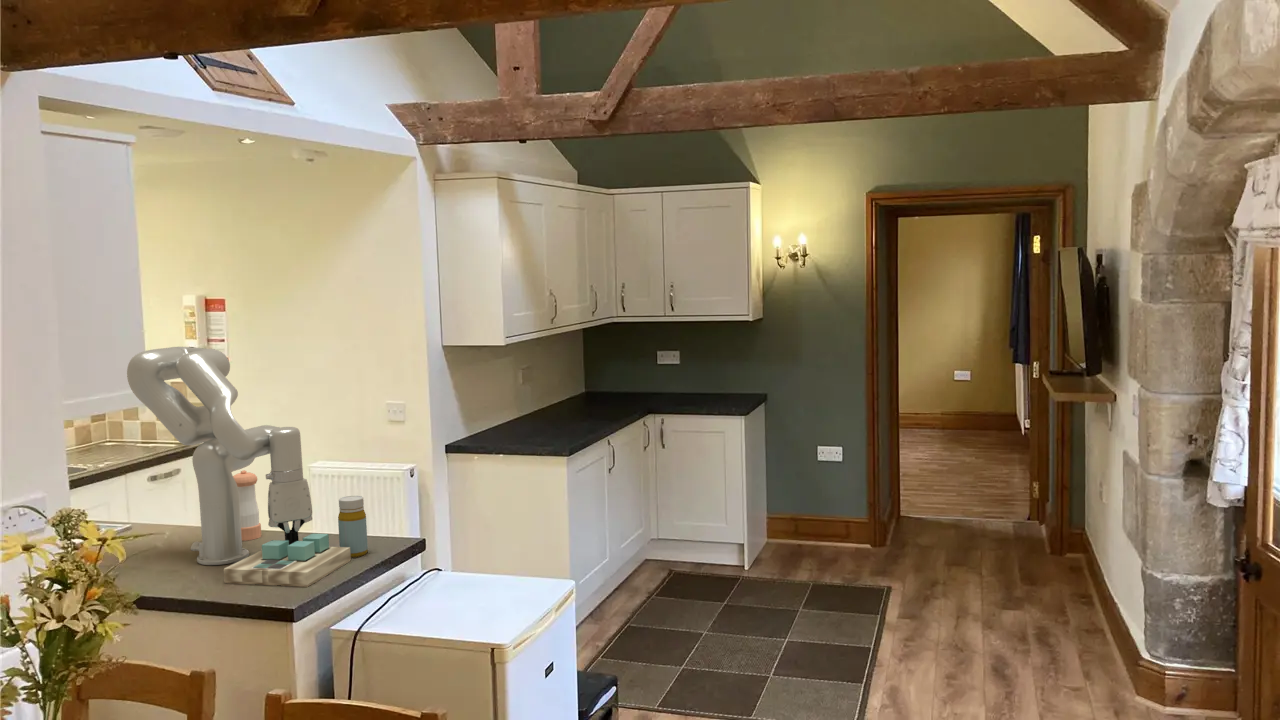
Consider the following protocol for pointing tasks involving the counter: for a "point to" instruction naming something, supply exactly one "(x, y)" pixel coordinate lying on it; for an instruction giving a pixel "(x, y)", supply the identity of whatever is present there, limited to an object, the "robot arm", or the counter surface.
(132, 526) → the counter surface
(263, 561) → the button board
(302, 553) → the button
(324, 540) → the button
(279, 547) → the button
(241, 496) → the salt shaker
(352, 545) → the bottle
